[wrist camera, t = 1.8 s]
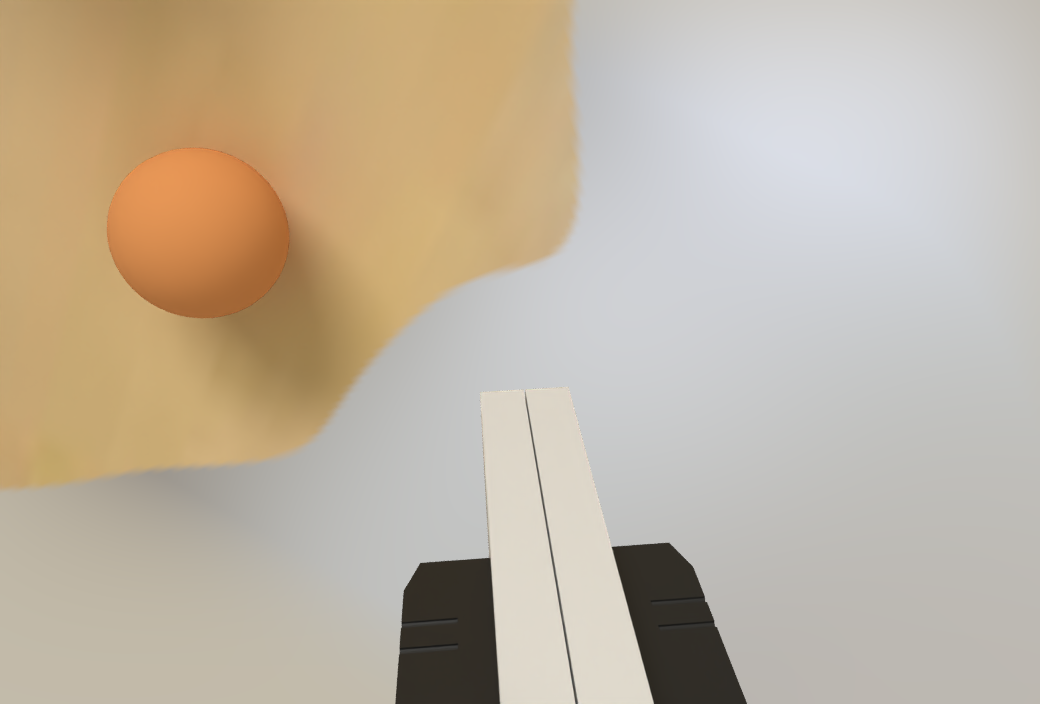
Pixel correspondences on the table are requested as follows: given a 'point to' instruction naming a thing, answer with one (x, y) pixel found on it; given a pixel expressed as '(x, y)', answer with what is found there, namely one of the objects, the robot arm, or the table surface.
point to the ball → (198, 233)
